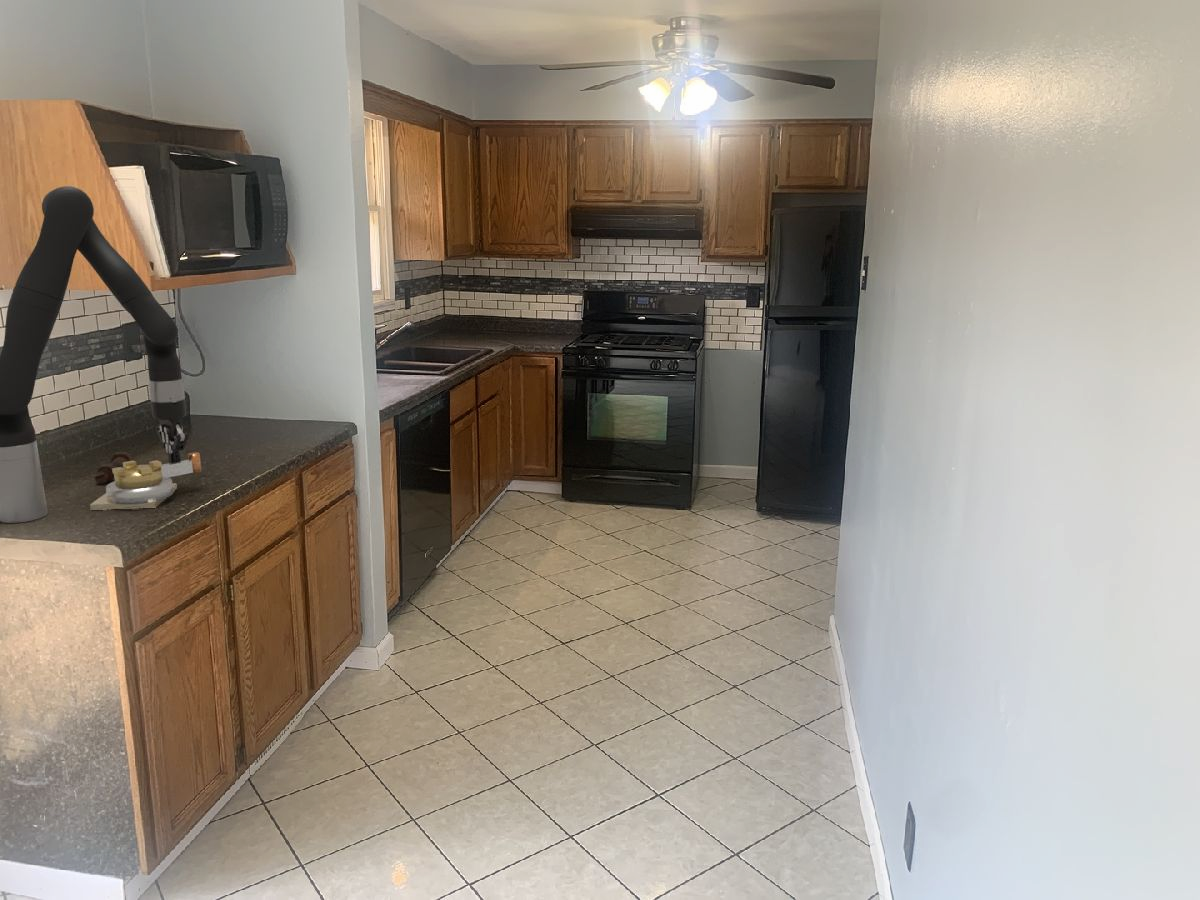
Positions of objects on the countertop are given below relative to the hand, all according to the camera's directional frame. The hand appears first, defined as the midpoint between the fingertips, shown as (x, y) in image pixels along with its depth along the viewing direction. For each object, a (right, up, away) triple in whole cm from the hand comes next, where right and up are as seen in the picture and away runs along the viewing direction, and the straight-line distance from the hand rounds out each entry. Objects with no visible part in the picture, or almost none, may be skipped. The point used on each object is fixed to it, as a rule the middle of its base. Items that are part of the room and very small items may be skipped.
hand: (175, 467), depth 220 cm
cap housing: (-6, -8, -6) cm, 11 cm away
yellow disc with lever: (-1, -3, -5) cm, 6 cm away
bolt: (-23, -3, +13) cm, 26 cm away
